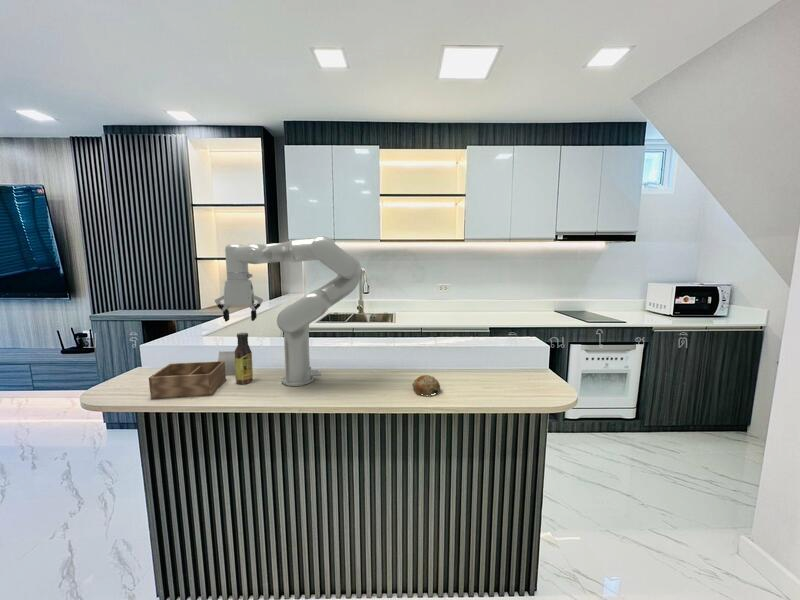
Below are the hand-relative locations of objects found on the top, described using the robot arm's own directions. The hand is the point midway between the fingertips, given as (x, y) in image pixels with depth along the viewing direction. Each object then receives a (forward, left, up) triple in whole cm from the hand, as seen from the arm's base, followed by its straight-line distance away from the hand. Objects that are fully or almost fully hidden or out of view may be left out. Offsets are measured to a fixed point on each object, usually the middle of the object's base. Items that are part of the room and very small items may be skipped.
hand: (240, 320), depth 130 cm
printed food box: (+9, -10, -25) cm, 29 cm away
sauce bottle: (0, 0, -25) cm, 25 cm away
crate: (+18, +5, -25) cm, 31 cm away
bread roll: (-70, +20, -26) cm, 77 cm away
